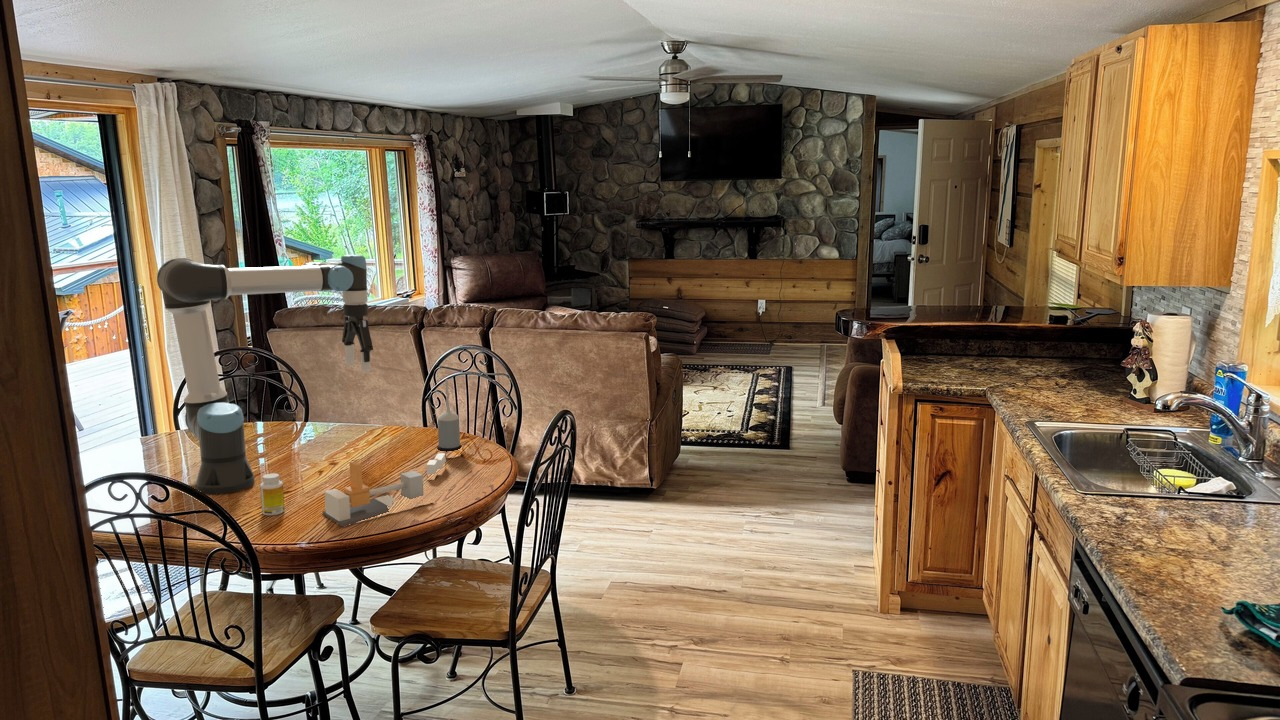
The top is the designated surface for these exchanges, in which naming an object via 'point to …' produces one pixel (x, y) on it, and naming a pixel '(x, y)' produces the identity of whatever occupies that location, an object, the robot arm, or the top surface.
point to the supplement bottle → (272, 495)
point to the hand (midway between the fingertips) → (358, 368)
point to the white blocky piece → (436, 463)
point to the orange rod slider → (357, 486)
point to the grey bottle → (448, 428)
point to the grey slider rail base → (346, 515)
